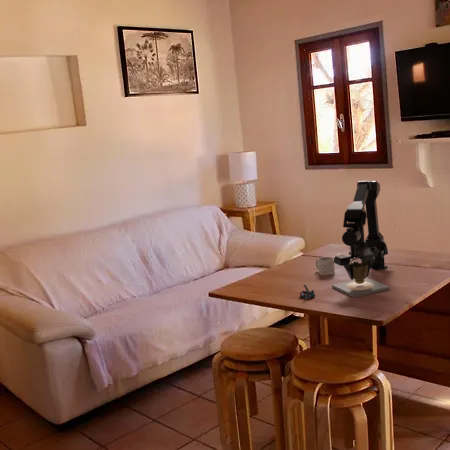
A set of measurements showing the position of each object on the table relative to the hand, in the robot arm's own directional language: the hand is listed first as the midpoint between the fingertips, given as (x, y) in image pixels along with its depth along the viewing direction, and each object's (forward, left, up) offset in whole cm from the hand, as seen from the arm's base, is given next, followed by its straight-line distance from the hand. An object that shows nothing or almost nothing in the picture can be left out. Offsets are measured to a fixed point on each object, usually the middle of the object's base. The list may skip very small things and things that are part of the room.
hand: (359, 278), depth 231 cm
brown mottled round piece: (0, 0, -2) cm, 2 cm away
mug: (-29, 0, -5) cm, 29 cm away
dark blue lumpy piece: (-4, -22, -5) cm, 22 cm away
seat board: (0, 0, -4) cm, 4 cm away
